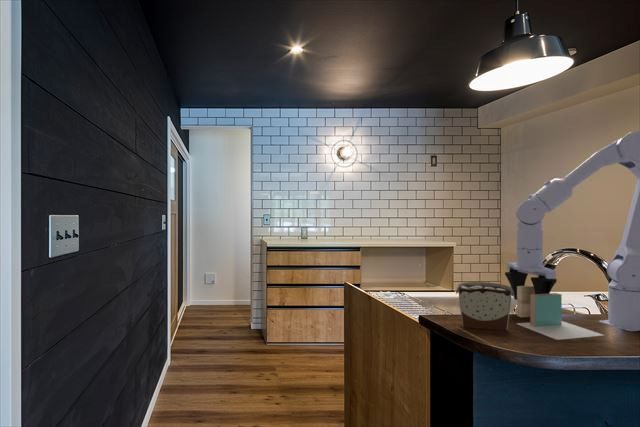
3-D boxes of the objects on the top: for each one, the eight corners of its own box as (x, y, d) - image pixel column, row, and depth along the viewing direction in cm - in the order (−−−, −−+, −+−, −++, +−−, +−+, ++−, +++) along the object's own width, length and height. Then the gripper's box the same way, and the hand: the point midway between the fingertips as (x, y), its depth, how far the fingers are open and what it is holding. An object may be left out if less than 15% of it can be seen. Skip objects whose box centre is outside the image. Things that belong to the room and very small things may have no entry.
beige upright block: (537, 316, 102) (537, 284, 102) (542, 318, 101) (542, 286, 101) (517, 317, 101) (517, 286, 101) (521, 319, 99) (521, 287, 99)
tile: (556, 322, 95) (556, 293, 94) (561, 324, 93) (561, 294, 93) (530, 324, 93) (530, 294, 93) (535, 326, 91) (535, 296, 91)
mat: (559, 322, 97) (559, 320, 97) (604, 337, 85) (604, 335, 85) (515, 325, 94) (515, 323, 94) (556, 342, 82) (556, 339, 82)
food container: (509, 325, 95) (509, 282, 94) (514, 333, 89) (514, 287, 89) (454, 321, 98) (454, 280, 98) (455, 328, 92) (455, 285, 92)
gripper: (496, 246, 107) (496, 297, 107) (537, 252, 93) (537, 310, 93) (519, 245, 108) (519, 296, 108) (563, 251, 94) (563, 309, 94)
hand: (529, 302), depth 101 cm, fingers open, 7 cm apart
